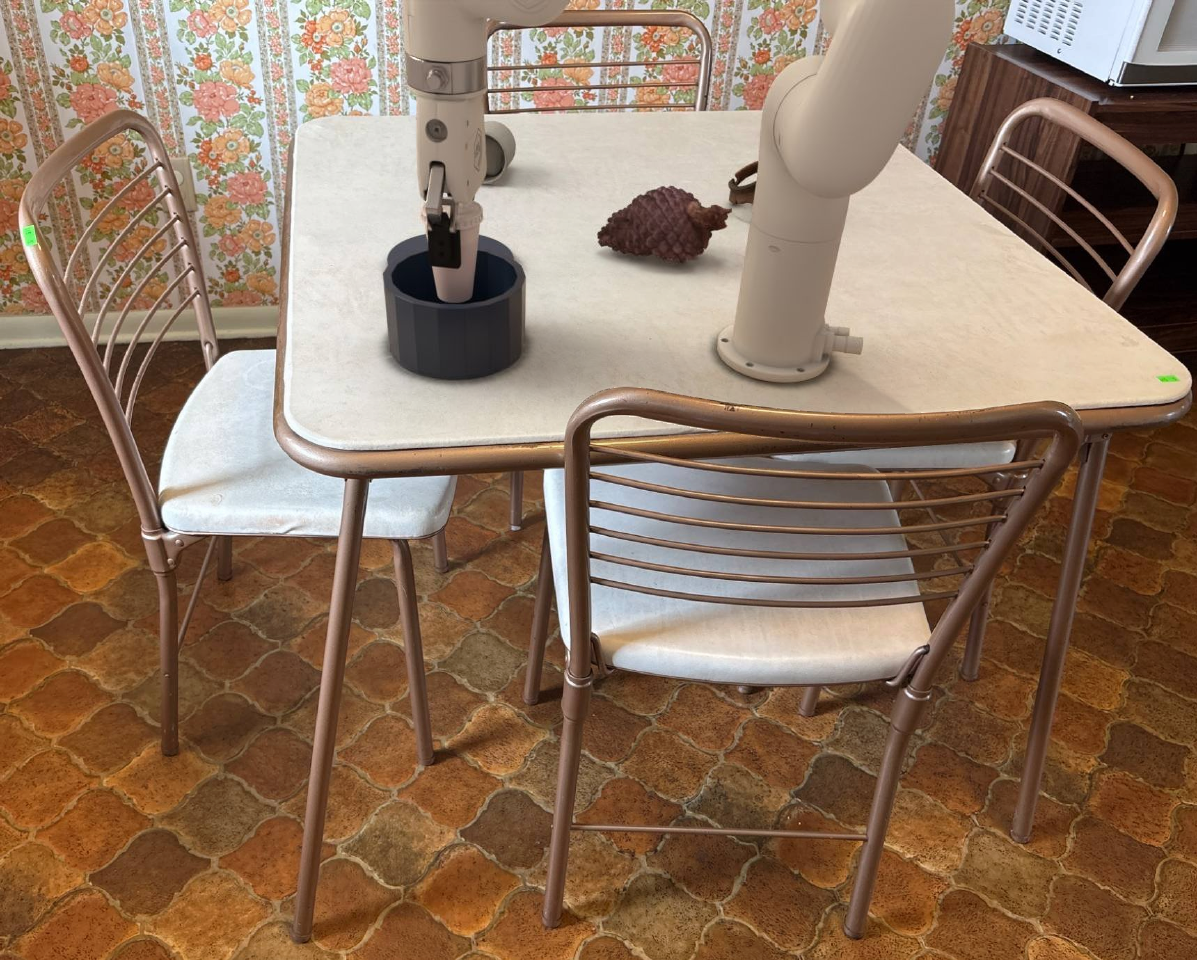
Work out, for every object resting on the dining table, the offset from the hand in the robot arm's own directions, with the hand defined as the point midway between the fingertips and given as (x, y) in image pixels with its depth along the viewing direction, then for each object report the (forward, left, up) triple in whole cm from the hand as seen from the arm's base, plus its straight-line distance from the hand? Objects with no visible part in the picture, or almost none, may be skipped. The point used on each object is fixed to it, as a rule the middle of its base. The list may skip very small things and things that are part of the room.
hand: (453, 250), depth 103 cm
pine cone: (-21, -28, -11) cm, 37 cm away
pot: (0, 0, -11) cm, 11 cm away
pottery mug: (-35, -47, -12) cm, 60 cm away
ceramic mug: (+8, -50, -11) cm, 52 cm away
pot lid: (+5, -19, -11) cm, 22 cm away
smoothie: (0, 0, -5) cm, 5 cm away
